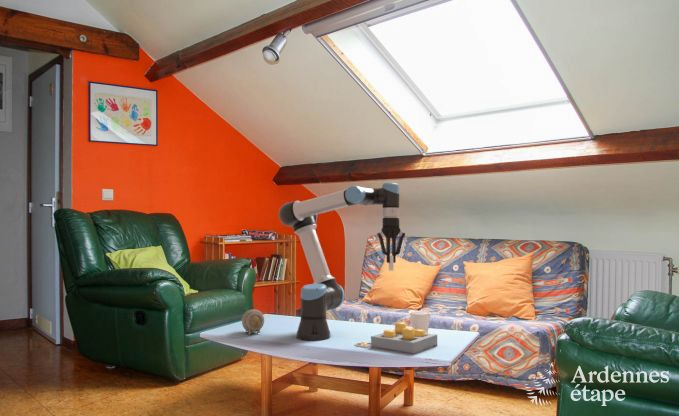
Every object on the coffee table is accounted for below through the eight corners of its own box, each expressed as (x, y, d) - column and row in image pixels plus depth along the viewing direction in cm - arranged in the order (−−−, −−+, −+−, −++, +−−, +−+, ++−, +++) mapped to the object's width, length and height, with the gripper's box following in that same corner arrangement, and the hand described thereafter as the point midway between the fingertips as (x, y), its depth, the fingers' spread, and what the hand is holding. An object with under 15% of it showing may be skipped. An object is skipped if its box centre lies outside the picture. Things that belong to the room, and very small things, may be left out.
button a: (381, 343, 216) (381, 331, 216) (387, 341, 219) (387, 329, 220) (391, 344, 213) (391, 332, 213) (397, 342, 216) (397, 330, 217)
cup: (416, 333, 243) (416, 310, 243) (435, 336, 237) (435, 312, 237) (405, 337, 235) (405, 312, 236) (424, 340, 229) (424, 315, 229)
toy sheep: (246, 337, 235) (246, 312, 235) (237, 330, 250) (237, 307, 251) (268, 335, 239) (268, 311, 240) (258, 329, 255) (259, 306, 255)
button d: (411, 342, 217) (411, 330, 217) (417, 340, 221) (417, 328, 221) (421, 344, 214) (421, 331, 215) (427, 342, 218) (427, 330, 218)
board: (371, 347, 215) (371, 336, 215) (396, 339, 231) (396, 329, 231) (413, 354, 203) (413, 342, 203) (437, 345, 219) (437, 334, 219)
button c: (392, 335, 223) (392, 323, 223) (398, 333, 227) (398, 321, 227) (402, 336, 220) (402, 324, 220) (408, 334, 224) (408, 323, 224)
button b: (400, 341, 210) (400, 328, 210) (406, 339, 214) (406, 327, 214) (410, 342, 207) (410, 330, 207) (416, 340, 211) (416, 328, 211)
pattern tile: (354, 345, 218) (354, 343, 218) (362, 343, 222) (362, 341, 222) (366, 347, 214) (366, 345, 214) (374, 345, 219) (374, 343, 219)
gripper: (378, 217, 229) (378, 271, 228) (407, 217, 231) (407, 270, 230) (374, 217, 236) (375, 269, 235) (402, 217, 238) (403, 269, 237)
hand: (391, 270), depth 233 cm, fingers closed
